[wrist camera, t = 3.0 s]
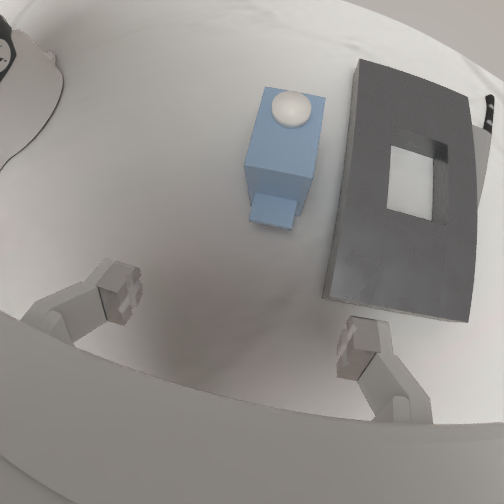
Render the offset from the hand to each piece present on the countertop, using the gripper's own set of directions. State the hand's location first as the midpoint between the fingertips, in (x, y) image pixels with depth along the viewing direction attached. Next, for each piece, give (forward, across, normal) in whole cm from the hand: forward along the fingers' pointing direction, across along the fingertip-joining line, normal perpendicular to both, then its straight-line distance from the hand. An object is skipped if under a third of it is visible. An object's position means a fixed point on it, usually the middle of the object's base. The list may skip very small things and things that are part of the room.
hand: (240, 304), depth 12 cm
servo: (+17, 0, +2) cm, 17 cm away
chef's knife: (+24, -20, -5) cm, 31 cm away
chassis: (+18, -11, 0) cm, 21 cm away
